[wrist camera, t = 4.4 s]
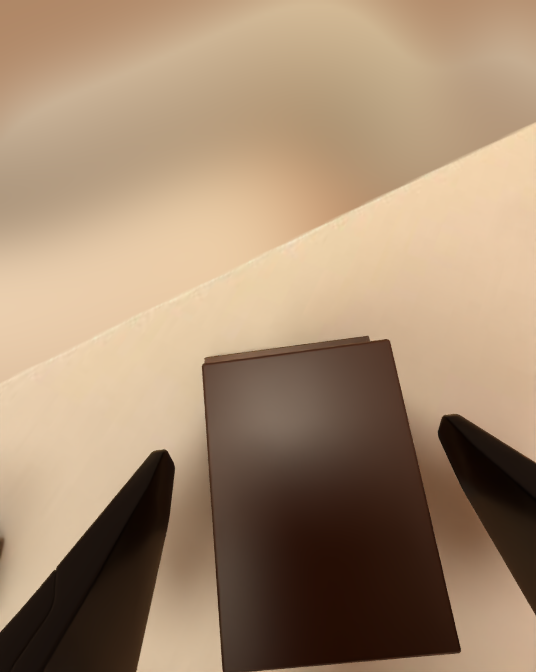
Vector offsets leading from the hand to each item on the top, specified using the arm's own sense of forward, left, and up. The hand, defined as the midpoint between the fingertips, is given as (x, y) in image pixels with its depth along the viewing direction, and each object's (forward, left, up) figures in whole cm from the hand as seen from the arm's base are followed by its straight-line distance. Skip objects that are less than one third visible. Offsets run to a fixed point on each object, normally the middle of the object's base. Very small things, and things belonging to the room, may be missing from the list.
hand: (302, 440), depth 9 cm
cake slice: (0, 0, -7) cm, 7 cm away
